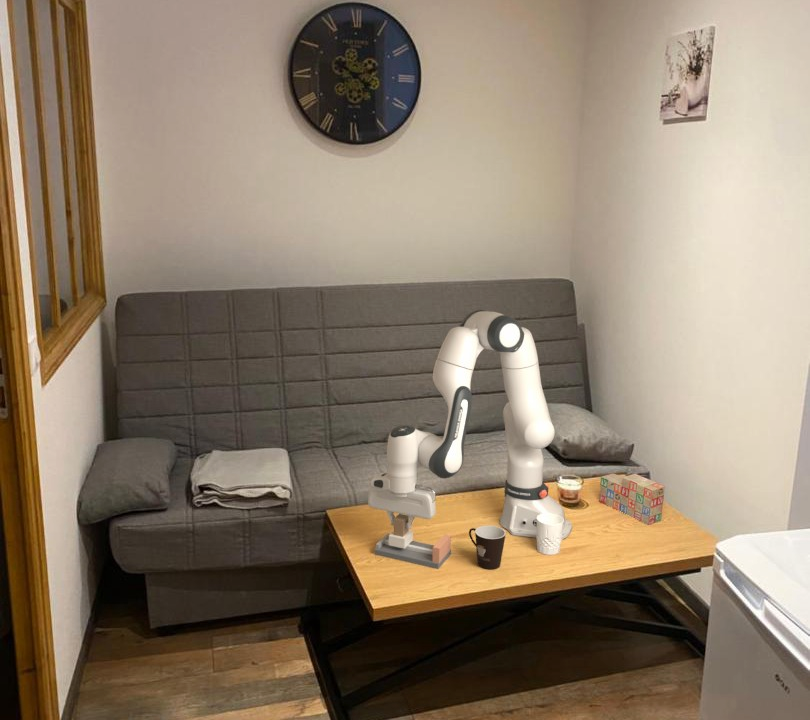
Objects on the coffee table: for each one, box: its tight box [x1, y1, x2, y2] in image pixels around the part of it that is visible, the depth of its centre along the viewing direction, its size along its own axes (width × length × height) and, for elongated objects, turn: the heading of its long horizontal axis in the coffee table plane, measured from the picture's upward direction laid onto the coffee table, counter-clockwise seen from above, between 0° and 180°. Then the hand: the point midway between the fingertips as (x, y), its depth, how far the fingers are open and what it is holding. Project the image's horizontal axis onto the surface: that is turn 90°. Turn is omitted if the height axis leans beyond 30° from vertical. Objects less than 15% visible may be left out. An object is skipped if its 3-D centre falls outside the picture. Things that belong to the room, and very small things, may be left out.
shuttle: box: [389, 513, 414, 549], centre depth 237 cm, size 5×6×8 cm
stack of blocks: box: [599, 473, 666, 526], centre depth 268 cm, size 21×6×12 cm, turn 34°
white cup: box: [536, 513, 564, 556], centre depth 240 cm, size 8×8×10 cm
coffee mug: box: [468, 524, 507, 571], centre depth 232 cm, size 12×9×10 cm
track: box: [373, 533, 452, 570], centre depth 237 cm, size 20×10×6 cm, turn 66°
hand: (401, 526), depth 237 cm, fingers closed on shuttle, 3 cm apart
